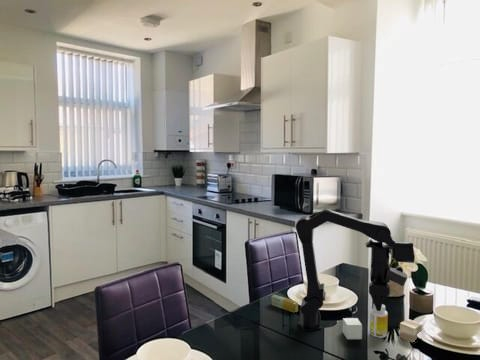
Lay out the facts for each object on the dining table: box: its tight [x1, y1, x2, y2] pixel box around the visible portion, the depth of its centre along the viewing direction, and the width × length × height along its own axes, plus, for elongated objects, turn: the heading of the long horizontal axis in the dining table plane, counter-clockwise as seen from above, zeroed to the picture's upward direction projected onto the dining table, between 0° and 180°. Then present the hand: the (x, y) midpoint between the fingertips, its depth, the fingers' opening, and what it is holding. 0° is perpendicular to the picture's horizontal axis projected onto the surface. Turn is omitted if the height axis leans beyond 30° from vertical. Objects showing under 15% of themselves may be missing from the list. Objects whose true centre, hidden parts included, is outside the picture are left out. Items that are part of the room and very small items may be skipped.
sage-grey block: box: [342, 317, 363, 340], centre depth 126 cm, size 5×5×5 cm
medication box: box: [270, 293, 299, 314], centre depth 148 cm, size 12×3×4 cm, turn 47°
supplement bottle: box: [369, 303, 389, 339], centre depth 126 cm, size 6×6×10 cm
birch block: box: [399, 318, 423, 343], centre depth 124 cm, size 5×5×5 cm
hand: (378, 305), depth 125 cm, fingers open, 9 cm apart
